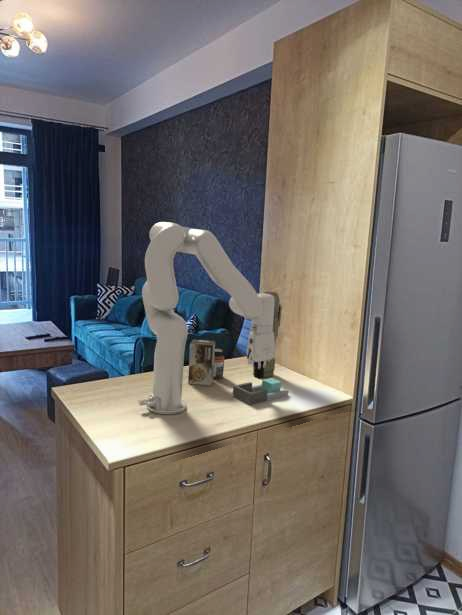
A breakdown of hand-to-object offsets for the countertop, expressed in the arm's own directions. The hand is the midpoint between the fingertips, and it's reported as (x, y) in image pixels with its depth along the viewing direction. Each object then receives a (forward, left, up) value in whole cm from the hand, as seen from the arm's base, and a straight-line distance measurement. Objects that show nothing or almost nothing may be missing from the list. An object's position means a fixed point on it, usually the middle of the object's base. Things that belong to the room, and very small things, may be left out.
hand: (258, 377), depth 163 cm
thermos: (+20, +17, -8) cm, 27 cm away
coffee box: (-9, +22, -8) cm, 25 cm away
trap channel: (+2, 0, -7) cm, 8 cm away
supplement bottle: (0, +24, -8) cm, 25 cm away
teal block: (+7, 0, -8) cm, 10 cm away
